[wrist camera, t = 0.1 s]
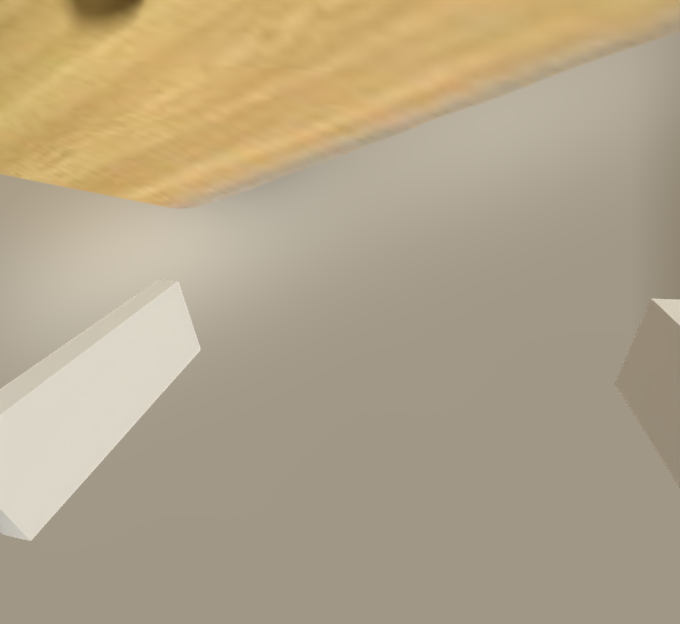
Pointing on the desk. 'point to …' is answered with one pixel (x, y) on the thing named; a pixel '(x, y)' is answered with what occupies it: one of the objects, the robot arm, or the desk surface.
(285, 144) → the desk surface
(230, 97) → the desk surface
